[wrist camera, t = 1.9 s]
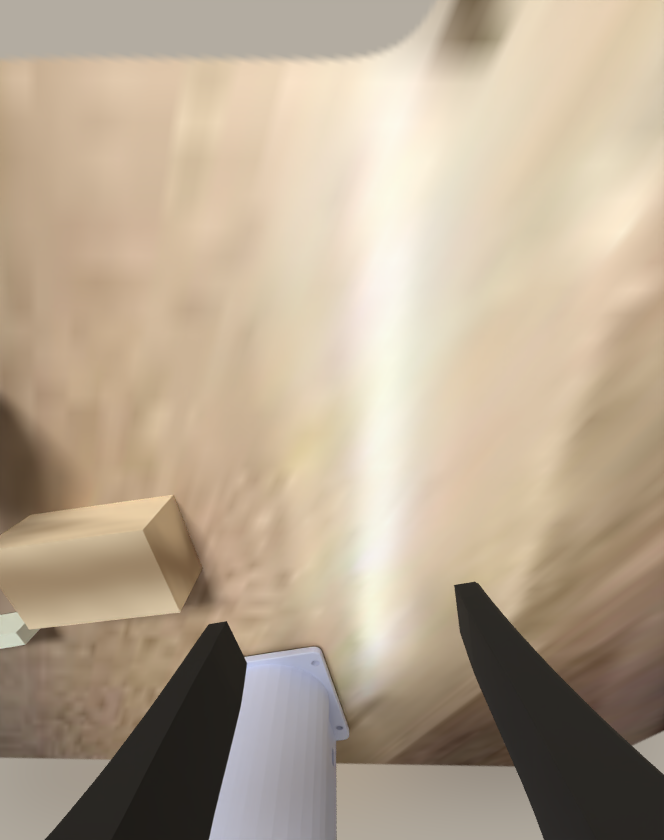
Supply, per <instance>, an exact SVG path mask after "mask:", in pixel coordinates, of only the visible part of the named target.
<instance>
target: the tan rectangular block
mask: <svg viewBox="0 0 664 840" xmlns="http://www.w3.org/2000/svg"><path fill="white" fill-rule="evenodd" d="M201 570H202V566H201V564H200V561H199V558H198V556H197V553H196V551H195V548H194V546H193V543H192V541H191V538H190V536H189V533H188V531H187V528H186V526H185V523H184V521H183V518H182V516H181V513H180V511H179V508H178V505H177V503H176V500H175V498H174V495H168V496H161V497H154V498H147V499H140V500H132V501H125V502H118V503H111V504H104V505H97V506H90V507H82V508H75V509H68V510H61V511H54V512H47V513H40V514H32V515H29V516H28V517H26V518H25V519H24V520H22V521H21V522H19V523H18V524H16V525H15V526H13V527H12V528H10V529H9V530H7V531H6V532H4V533H3V534H1V535H0V589H1V590H2V592H3V593H4V594H5V596H6V597H7V599H8V600H9V602H10V603H11V604H12V606H13V607H14V609H15V610H16V611H17V613H18V614H19V616H20V617H21V619H22V620H23V621H24V623H25V624H26V626H27V627H28V629H29V630H30V629H39V628H48V627H57V626H65V625H74V624H83V623H92V622H100V621H109V620H118V619H127V618H136V617H144V616H153V615H162V614H171V613H179V612H181V610H182V608H183V606H184V604H185V602H186V600H187V598H188V596H189V594H190V592H191V590H192V588H193V586H194V584H195V582H196V580H197V578H198V576H199V574H200V572H201Z"/></svg>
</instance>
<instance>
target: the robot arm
mask: <svg viewBox="0 0 664 840" xmlns="http://www.w3.org/2000/svg"><path fill="white" fill-rule="evenodd" d="M454 587H455V595H456V603H457V611H458V619H459V627H460V633H461V636H462V639H463V642H464V645H465V648H466V651H467V654H468V657H469V660H470V663H471V665H472V668H473V671H474V674H475V676H476V679H477V681H478V683H479V686H480V688H481V690H482V692H483V695H484V697H485V699H486V702H487V704H488V706H489V709H490V711H491V713H492V715H493V718H494V720H495V722H496V724H497V727H498V729H499V731H500V734H501V736H502V738H503V740H504V743H505V745H506V747H507V750H508V752H509V754H510V756H511V759H512V761H513V763H514V766H515V768H516V770H517V772H518V775H519V777H520V779H521V782H522V784H523V786H524V789H525V791H526V794H527V796H528V798H529V801H530V804H531V806H532V808H533V811H534V813H535V816H536V819H537V822H538V824H539V827H540V830H541V832H542V835H543V838H544V840H664V775H663V774H662V773H661V772H660V771H659V770H658V769H657V768H656V767H655V766H653V765H652V764H651V763H650V762H649V761H648V760H647V759H646V758H644V757H643V756H642V755H641V754H640V753H639V752H638V751H637V750H636V749H635V748H634V747H632V746H631V745H630V744H629V743H628V742H627V741H626V740H625V739H624V738H623V737H622V736H620V735H619V734H618V733H617V732H616V731H615V730H614V729H613V728H612V727H611V726H610V725H609V724H608V723H607V722H606V721H605V720H603V719H602V718H601V717H600V716H599V715H598V714H597V713H596V712H595V711H594V710H593V709H592V708H591V707H590V706H589V705H588V704H587V703H586V702H585V701H584V700H583V699H582V698H581V697H580V696H579V695H578V694H577V693H576V692H575V691H574V690H573V689H572V688H571V687H570V686H569V685H568V684H567V683H566V682H565V681H564V680H563V679H562V678H561V677H560V676H559V675H558V674H557V673H556V672H555V671H554V670H553V669H552V668H551V667H550V666H549V665H548V664H547V663H546V661H545V660H544V659H543V658H542V657H541V656H540V655H539V654H538V653H537V652H536V651H535V650H534V649H533V647H532V646H531V645H530V644H529V643H528V642H527V641H526V640H525V639H524V638H523V637H522V635H521V634H520V633H519V632H518V631H517V630H516V629H515V628H514V626H513V625H512V624H511V623H510V622H509V621H508V619H507V618H506V617H505V616H504V615H503V614H502V612H501V611H500V610H499V609H498V608H497V607H496V605H495V604H494V603H493V602H492V600H491V599H490V598H489V597H488V595H487V594H486V593H485V592H484V590H483V589H482V588H481V586H480V585H479V584H478V583H476V582H471V583H464V584H458V585H454ZM348 737H349V727H348V725H347V722H346V719H345V716H344V713H343V710H342V708H341V705H340V702H339V699H338V696H337V693H336V691H335V688H334V685H333V682H332V679H331V676H330V674H329V671H328V668H327V665H326V662H325V659H324V657H323V654H322V651H321V649H320V648H318V647H306V648H300V649H293V650H286V651H280V652H273V653H266V654H260V655H253V656H247V657H244V656H243V654H242V652H241V650H240V648H239V646H238V644H237V641H236V639H235V637H234V635H233V633H232V631H231V629H230V627H229V625H228V623H227V621H226V622H220V623H214V624H209V625H208V626H207V628H206V629H205V630H204V632H203V633H202V635H201V636H200V638H199V639H198V640H197V642H196V643H195V645H194V646H193V648H192V649H191V650H190V652H189V653H188V655H187V656H186V658H185V659H184V661H183V662H182V664H181V665H180V666H179V668H178V669H177V671H176V672H175V674H174V675H173V676H172V678H171V679H170V681H169V682H168V684H167V685H166V686H165V688H164V689H163V691H162V692H161V693H160V695H159V696H158V698H157V699H156V700H155V702H154V703H153V705H152V706H151V707H150V709H149V710H148V712H147V713H146V714H145V716H144V717H143V718H142V720H141V721H140V722H139V724H138V725H137V726H136V728H135V729H134V730H133V732H132V733H131V734H130V736H129V737H128V738H127V740H126V741H125V742H124V744H123V745H122V746H121V748H120V749H119V750H118V752H117V753H116V754H115V756H114V757H113V758H112V760H111V761H110V762H109V763H108V765H107V766H106V767H105V768H104V770H103V771H102V772H101V773H100V775H99V776H98V777H97V779H96V780H95V781H94V782H93V783H92V785H91V786H90V787H89V788H88V790H87V791H86V792H85V793H84V794H83V796H82V797H81V798H80V799H79V800H78V802H77V803H76V804H75V805H74V806H73V808H72V809H71V810H70V811H69V812H68V814H67V815H66V816H65V817H64V818H63V819H62V821H61V822H60V823H59V824H58V825H57V827H56V828H55V829H54V830H53V831H52V832H51V833H50V834H49V836H48V837H47V838H46V839H45V840H336V741H338V740H345V739H347V738H348Z"/></svg>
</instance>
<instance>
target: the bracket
mask: <svg viewBox="0 0 664 840" xmlns="http://www.w3.org/2000/svg"><path fill="white" fill-rule="evenodd" d="M39 629H40V628H39ZM39 629H30V630H29V629H28V627H27V626H26V624H25V623H24V621H23V620H22V619H21V617H20V616H19V614H18V613H17V612H15V613H10V614H4V615H0V649H2V648H8V647H14V646H20V645H26V644H27V642H28V641H29V640H30V639H31V638H32V637H33V636H34V635H35V634H36V633H37V632H38V631H39Z"/></svg>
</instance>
